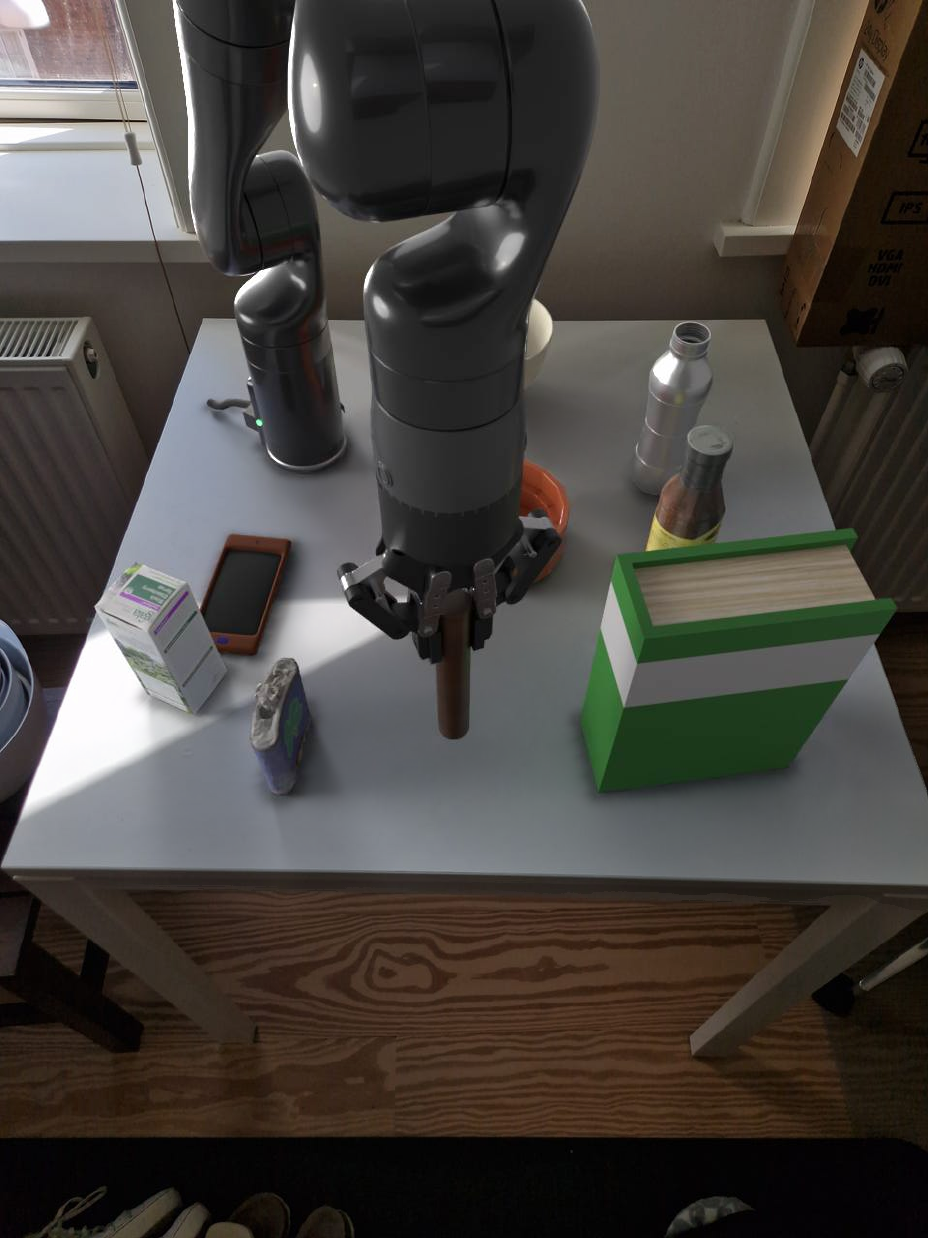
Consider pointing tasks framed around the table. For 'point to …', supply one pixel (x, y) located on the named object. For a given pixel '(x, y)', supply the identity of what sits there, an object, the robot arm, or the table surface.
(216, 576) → the smartphone
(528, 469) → the mixing bowl
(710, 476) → the sauce bottle
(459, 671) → the stick
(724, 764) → the hardback book
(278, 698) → the flask
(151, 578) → the syrup box
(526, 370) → the bowl
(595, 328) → the table surface
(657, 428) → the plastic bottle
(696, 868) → the table surface
